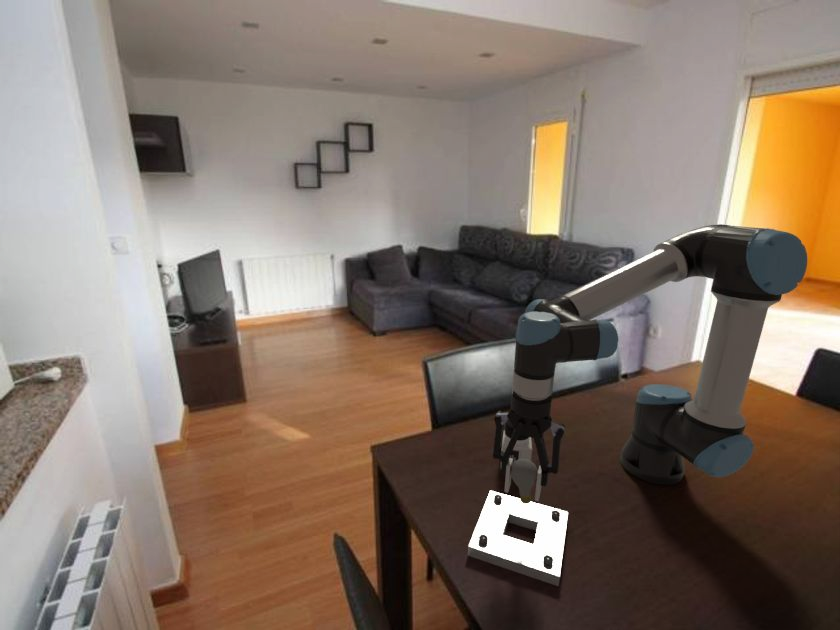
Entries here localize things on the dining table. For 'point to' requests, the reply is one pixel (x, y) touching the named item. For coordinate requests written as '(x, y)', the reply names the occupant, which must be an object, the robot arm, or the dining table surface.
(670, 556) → the dining table surface
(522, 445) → the container
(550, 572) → the flange
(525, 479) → the light bulb
